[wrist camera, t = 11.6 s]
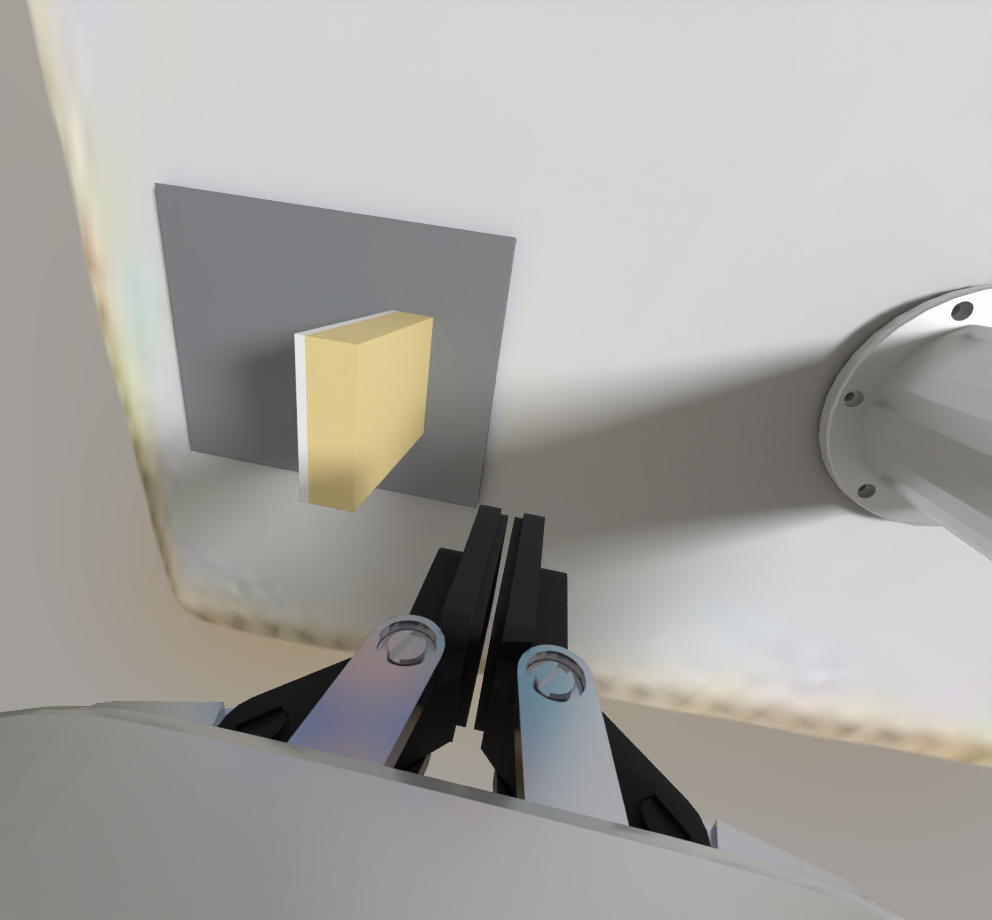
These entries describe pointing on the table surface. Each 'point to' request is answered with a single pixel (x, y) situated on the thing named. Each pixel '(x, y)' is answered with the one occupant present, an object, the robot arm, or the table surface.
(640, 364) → the table surface
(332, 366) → the tile
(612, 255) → the table surface
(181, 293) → the mat
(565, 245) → the table surface
